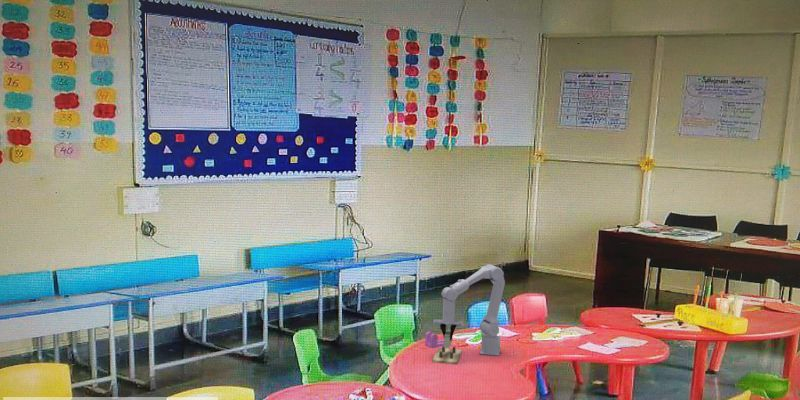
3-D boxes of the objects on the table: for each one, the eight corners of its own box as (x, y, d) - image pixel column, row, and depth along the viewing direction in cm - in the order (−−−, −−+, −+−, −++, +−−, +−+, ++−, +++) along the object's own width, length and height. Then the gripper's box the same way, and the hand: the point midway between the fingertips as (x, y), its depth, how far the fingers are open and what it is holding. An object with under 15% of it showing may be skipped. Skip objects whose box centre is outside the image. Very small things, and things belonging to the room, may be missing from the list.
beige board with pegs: (462, 351, 367) (462, 344, 367) (457, 364, 347) (457, 357, 347) (438, 349, 369) (438, 342, 369) (432, 362, 350) (432, 354, 349)
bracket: (431, 348, 372) (431, 334, 372) (425, 345, 377) (425, 332, 376) (452, 344, 379) (452, 331, 379) (445, 341, 384) (446, 328, 383)
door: (451, 342, 362) (451, 330, 361) (448, 348, 352) (449, 336, 352) (446, 341, 362) (447, 330, 362) (443, 347, 353) (444, 335, 352)
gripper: (432, 313, 354) (431, 340, 355) (462, 315, 351) (461, 343, 352) (434, 309, 361) (434, 336, 362) (464, 311, 358) (463, 338, 359)
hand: (447, 339), depth 357 cm, fingers closed on door, 2 cm apart
